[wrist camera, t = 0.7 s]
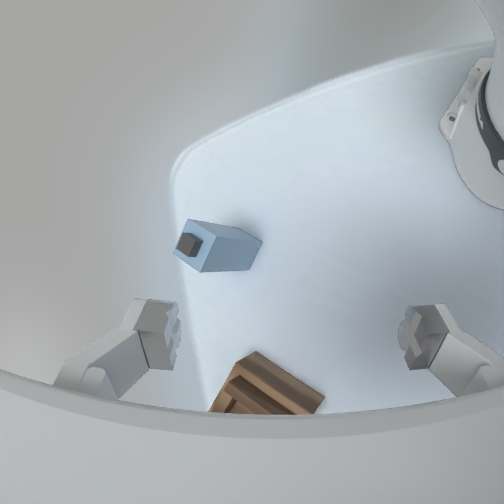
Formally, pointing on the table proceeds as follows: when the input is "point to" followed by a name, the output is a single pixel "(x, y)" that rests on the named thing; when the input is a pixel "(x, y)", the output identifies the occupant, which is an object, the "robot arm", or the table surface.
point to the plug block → (216, 247)
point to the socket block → (264, 390)
